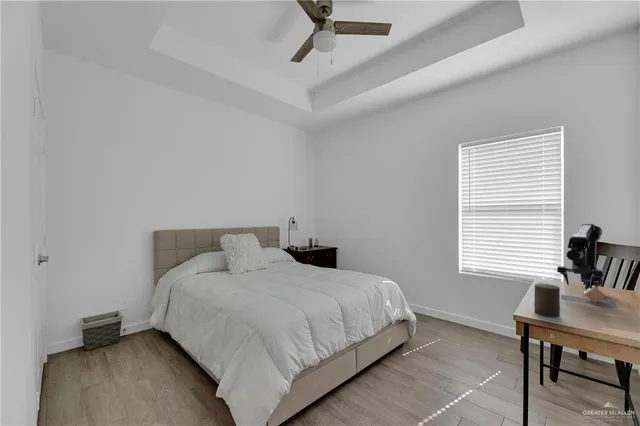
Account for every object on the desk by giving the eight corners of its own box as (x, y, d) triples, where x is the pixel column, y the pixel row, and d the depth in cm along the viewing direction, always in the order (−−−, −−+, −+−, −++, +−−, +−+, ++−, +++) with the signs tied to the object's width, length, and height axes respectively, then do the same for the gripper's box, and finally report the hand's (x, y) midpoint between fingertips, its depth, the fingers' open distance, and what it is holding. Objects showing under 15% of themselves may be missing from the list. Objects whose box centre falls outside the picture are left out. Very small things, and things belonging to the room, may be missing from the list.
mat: (561, 295, 170) (560, 294, 170) (614, 302, 156) (614, 301, 156) (560, 300, 161) (560, 299, 161) (617, 308, 147) (617, 307, 147)
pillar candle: (556, 319, 133) (556, 286, 133) (531, 313, 141) (531, 282, 141) (562, 314, 139) (562, 283, 139) (538, 309, 147) (538, 279, 147)
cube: (593, 284, 159) (604, 294, 156) (583, 291, 161) (594, 300, 159) (594, 287, 154) (606, 296, 151) (584, 293, 157) (595, 303, 154)
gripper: (557, 258, 160) (557, 287, 160) (604, 262, 148) (604, 293, 148) (557, 256, 168) (557, 283, 169) (602, 259, 156) (602, 288, 156)
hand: (579, 286), depth 160 cm, fingers open, 9 cm apart
